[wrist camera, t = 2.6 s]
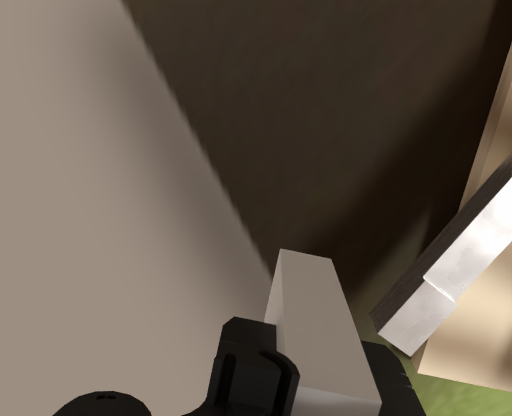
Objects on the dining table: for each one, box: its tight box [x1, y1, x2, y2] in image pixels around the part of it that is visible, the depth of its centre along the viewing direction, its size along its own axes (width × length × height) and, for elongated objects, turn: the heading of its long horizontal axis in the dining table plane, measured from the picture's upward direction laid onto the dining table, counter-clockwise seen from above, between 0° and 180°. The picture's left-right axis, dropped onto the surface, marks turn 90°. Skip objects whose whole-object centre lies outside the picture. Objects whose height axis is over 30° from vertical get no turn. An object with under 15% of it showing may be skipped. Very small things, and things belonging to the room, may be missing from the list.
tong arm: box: [369, 152, 512, 357], centre depth 25 cm, size 20×2×2 cm, turn 144°
